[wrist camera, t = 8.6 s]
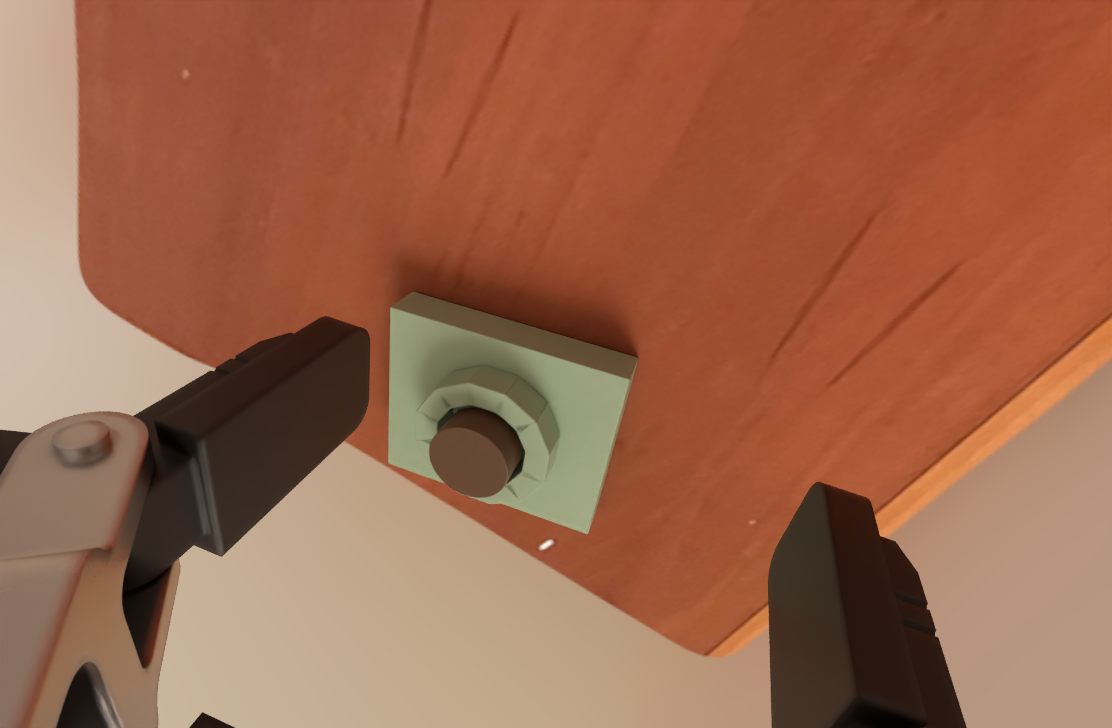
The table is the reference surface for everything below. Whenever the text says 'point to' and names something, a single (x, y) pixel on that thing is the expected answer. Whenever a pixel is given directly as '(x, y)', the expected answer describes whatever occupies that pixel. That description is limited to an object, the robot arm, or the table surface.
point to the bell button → (475, 452)
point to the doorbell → (508, 401)
